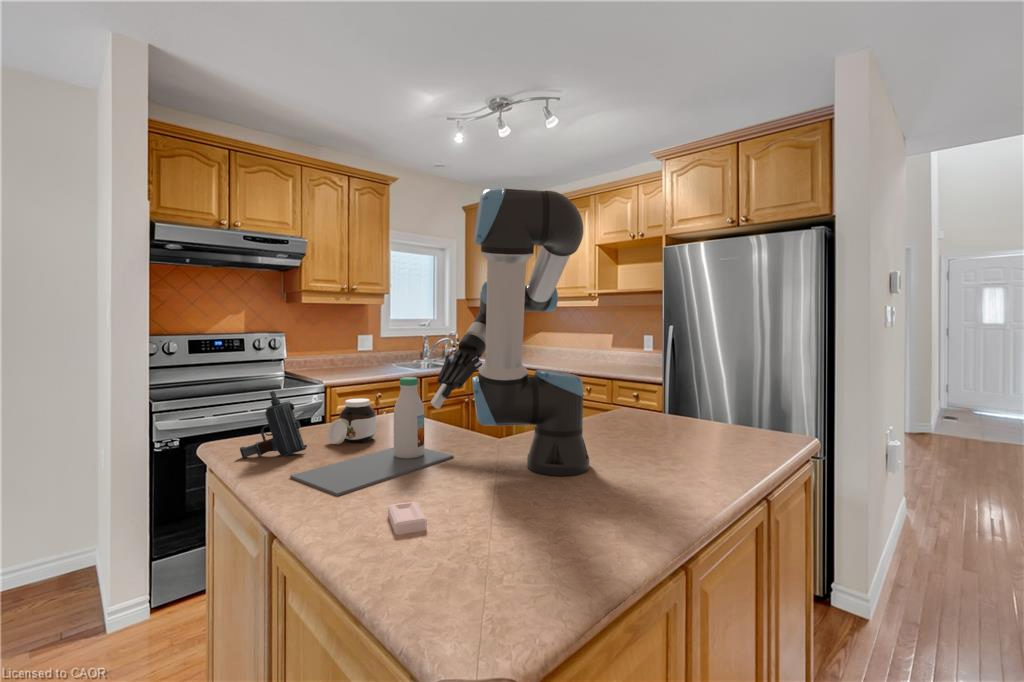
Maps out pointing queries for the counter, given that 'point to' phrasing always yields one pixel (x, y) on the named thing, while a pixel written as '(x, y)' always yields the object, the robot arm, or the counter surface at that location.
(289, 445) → the gun
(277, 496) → the counter surface
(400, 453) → the milk bottle
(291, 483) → the counter surface
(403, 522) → the soap bar
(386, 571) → the counter surface
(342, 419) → the spread jar
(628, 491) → the counter surface
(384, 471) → the rubber mat
